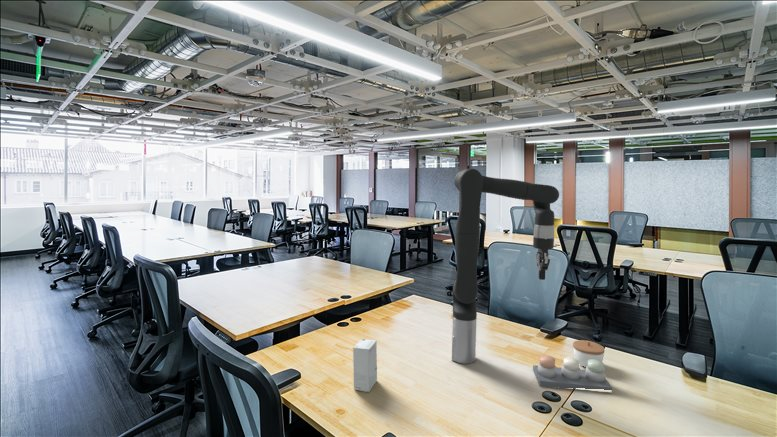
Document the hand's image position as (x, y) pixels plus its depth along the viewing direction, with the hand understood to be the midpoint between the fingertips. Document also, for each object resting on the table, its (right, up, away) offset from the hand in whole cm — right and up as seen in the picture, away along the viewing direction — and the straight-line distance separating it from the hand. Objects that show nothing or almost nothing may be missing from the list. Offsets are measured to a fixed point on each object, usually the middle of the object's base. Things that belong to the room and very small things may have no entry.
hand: (541, 279), depth 145 cm
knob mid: (+4, -28, -16) cm, 33 cm away
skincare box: (-69, -34, -19) cm, 79 cm away
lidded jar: (+16, -33, -4) cm, 37 cm away
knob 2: (+11, -29, -18) cm, 36 cm away
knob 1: (-4, -28, -15) cm, 32 cm away
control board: (+4, -34, -16) cm, 37 cm away
